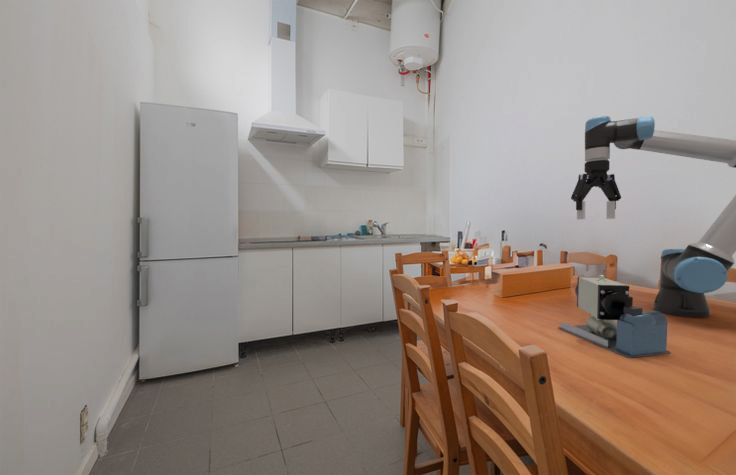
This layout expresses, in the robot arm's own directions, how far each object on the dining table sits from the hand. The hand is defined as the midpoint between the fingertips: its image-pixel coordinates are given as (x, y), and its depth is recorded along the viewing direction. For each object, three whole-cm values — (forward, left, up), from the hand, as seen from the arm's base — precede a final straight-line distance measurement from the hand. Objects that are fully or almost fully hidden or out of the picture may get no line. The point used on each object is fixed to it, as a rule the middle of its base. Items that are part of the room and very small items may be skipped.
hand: (596, 219), depth 121 cm
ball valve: (+20, +22, -34) cm, 46 cm away
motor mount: (+21, +25, -34) cm, 48 cm away
